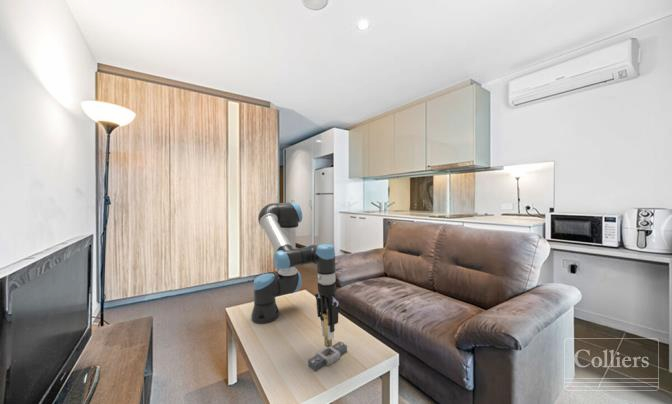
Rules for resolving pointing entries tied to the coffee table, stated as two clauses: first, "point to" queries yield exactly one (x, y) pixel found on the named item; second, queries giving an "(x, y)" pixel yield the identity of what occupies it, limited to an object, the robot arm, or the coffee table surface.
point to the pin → (326, 330)
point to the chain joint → (322, 360)
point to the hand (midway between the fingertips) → (328, 336)
